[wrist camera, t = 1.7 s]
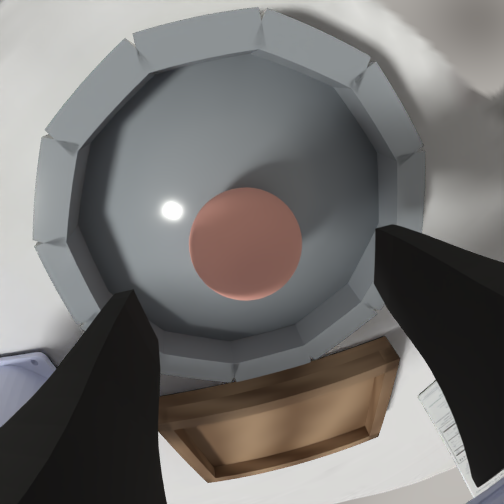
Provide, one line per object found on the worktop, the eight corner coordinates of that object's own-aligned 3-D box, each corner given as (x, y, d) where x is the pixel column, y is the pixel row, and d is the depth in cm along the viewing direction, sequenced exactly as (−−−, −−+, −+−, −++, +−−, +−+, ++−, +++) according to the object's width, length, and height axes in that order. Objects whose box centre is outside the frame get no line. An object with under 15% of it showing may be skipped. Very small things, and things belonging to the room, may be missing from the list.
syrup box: (471, 371, 27) (535, 465, 15) (431, 405, 29) (487, 503, 16) (459, 357, 25) (536, 468, 12) (414, 397, 26) (478, 512, 14)
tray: (205, 463, 25) (207, 482, 23) (153, 397, 19) (152, 424, 17) (369, 418, 26) (378, 436, 24) (385, 335, 20) (400, 358, 18)
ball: (202, 272, 14) (209, 335, 11) (177, 188, 12) (172, 232, 9) (290, 250, 14) (321, 306, 11) (277, 164, 12) (312, 198, 9)
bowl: (134, 370, 18) (131, 401, 15) (14, 97, 9) (-16, 103, 7) (389, 303, 19) (408, 327, 16) (379, 16, 10) (411, 9, 8)
